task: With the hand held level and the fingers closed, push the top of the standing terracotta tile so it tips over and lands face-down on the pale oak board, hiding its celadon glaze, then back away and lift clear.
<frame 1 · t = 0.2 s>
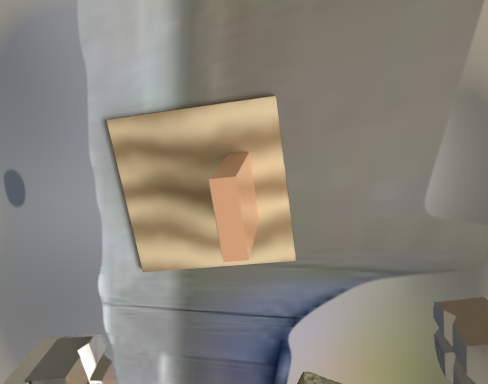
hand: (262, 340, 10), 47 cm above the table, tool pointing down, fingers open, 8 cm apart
oak board: (204, 190, 59), on the table
terracotta tile: (243, 187, 58), point 1 cm above the table, touching oak board
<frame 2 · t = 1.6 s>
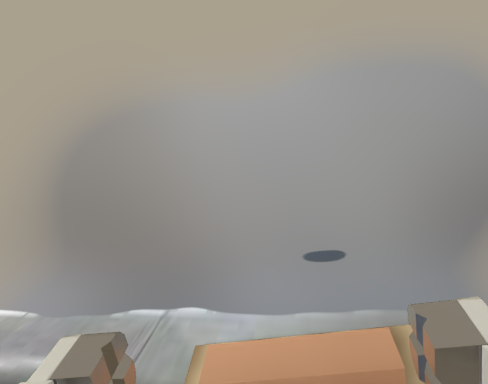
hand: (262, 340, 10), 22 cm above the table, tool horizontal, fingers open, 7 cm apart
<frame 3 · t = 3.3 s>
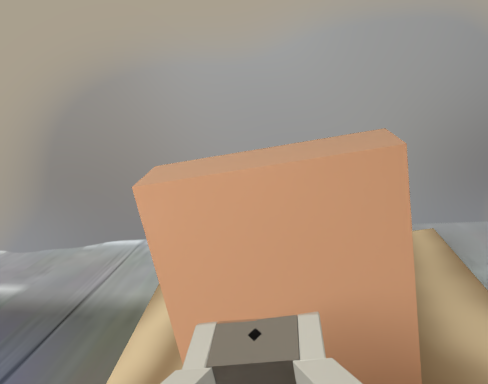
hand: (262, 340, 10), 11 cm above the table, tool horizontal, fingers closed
oak board: (304, 344, 26), on the table
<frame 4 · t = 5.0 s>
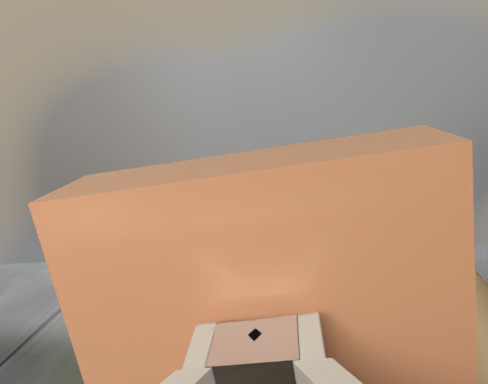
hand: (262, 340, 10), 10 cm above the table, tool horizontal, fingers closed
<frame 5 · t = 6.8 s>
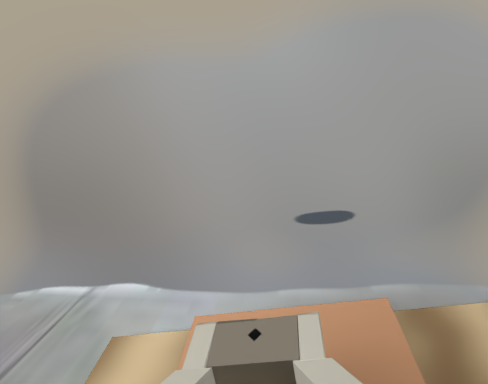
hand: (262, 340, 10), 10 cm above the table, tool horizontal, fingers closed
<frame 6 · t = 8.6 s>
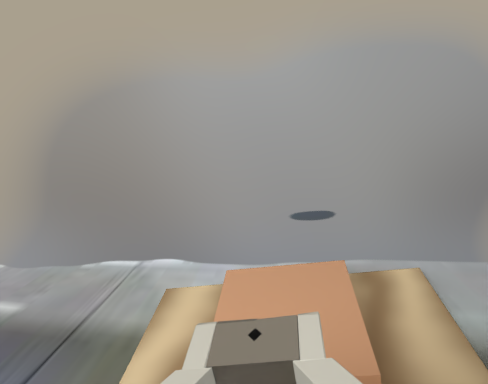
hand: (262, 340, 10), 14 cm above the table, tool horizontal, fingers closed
oak board: (292, 382, 27), on the table
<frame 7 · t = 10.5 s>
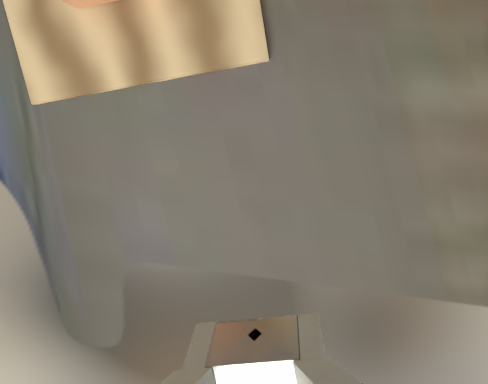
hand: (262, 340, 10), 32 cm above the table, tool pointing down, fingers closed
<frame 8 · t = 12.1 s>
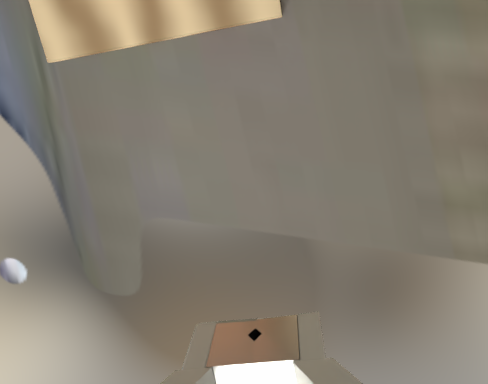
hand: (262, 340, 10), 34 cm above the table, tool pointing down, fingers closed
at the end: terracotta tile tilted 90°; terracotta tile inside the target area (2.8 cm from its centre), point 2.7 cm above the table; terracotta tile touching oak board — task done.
